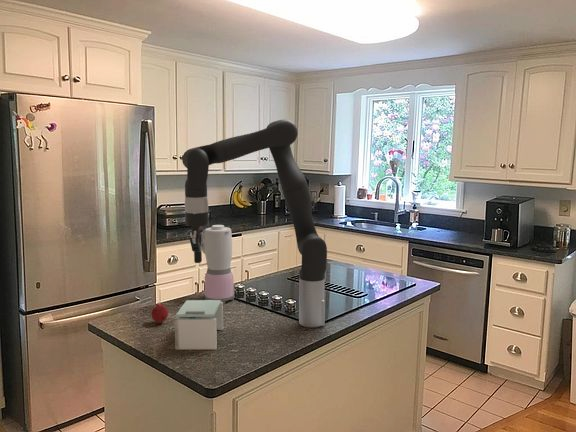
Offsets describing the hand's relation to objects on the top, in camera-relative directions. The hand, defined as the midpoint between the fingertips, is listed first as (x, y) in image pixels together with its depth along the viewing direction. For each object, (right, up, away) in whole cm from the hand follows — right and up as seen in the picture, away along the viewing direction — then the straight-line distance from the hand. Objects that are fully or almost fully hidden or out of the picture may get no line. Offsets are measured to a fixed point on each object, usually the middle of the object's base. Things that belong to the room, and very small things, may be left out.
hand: (198, 262), depth 156 cm
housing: (0, -26, +5) cm, 27 cm away
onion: (-18, -25, +19) cm, 36 cm away
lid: (0, -16, +3) cm, 16 cm away
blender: (-1, -20, +46) cm, 51 cm away
